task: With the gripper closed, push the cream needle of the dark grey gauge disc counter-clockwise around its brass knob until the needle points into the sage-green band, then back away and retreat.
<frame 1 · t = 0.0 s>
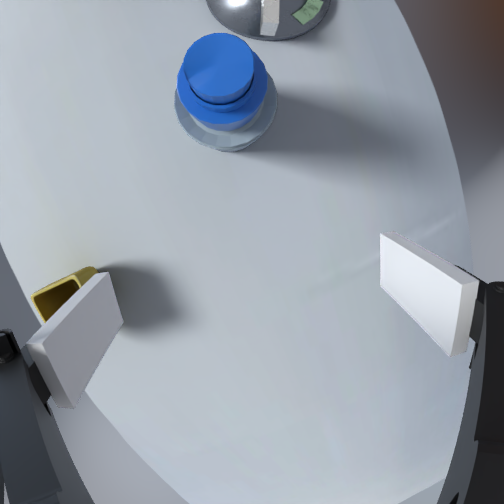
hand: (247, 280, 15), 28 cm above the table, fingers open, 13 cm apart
gold square bowl: (92, 288, 44), on the table
spray bottle: (228, 117, 39), on the table
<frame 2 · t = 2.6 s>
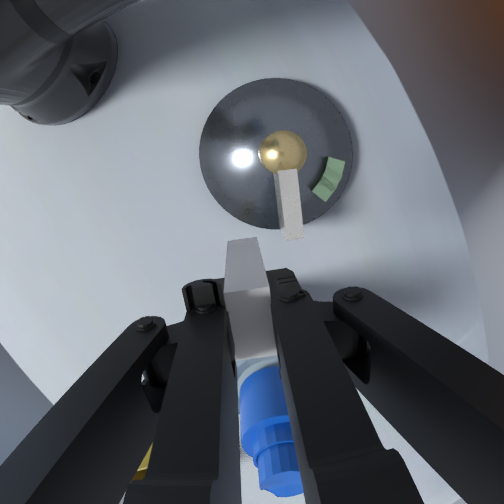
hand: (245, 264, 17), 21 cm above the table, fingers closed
gauge plate: (276, 153, 35), on the table
spray bottle: (260, 315, 41), on the table
needle dial: (285, 183, 32), point 4 cm above the table, hinge at -10.0°
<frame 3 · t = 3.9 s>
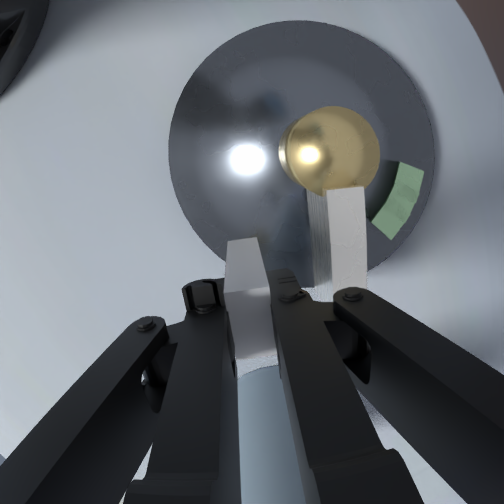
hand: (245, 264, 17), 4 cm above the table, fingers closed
gauge plate: (310, 151, 19), on the table
spray bottle: (275, 404, 25), on the table
needle dial: (333, 211, 17), point 4 cm above the table, hinge at -10.0°
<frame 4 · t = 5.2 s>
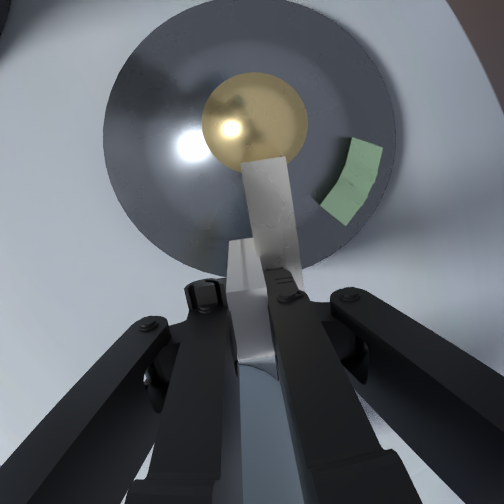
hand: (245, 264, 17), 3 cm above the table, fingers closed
gauge plate: (250, 131, 18), on the table
spray bottle: (232, 405, 24), on the table
needle dial: (264, 190, 15), point 4 cm above the table, hinge at -8.3°, touching gripper
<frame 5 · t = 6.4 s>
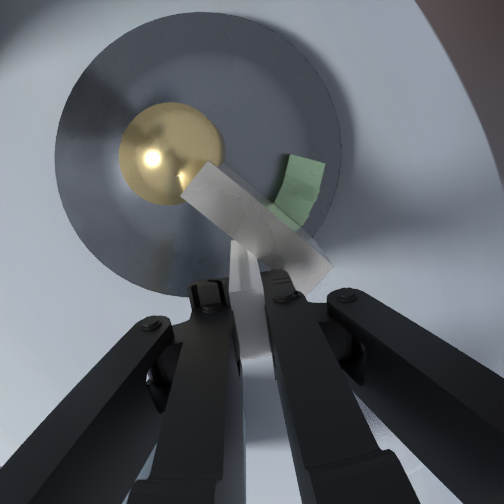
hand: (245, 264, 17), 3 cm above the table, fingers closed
gauge plate: (189, 152, 18), on the table
spray bottle: (191, 413, 24), on the table
needle dial: (226, 194, 15), point 4 cm above the table, hinge at 31.5°, touching gripper
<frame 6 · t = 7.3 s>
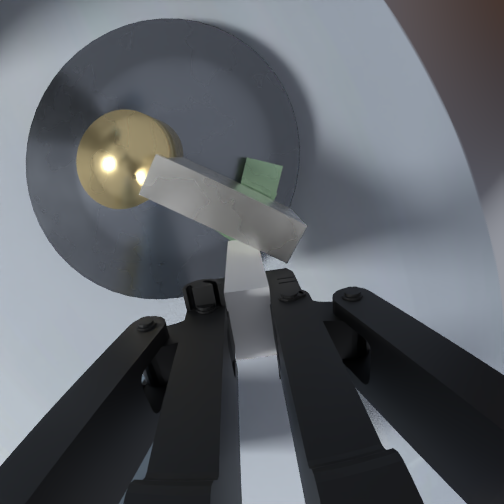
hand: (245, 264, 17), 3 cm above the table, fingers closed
gauge plate: (151, 157, 18), on the table
needle dial: (188, 183, 15), point 4 cm above the table, hinge at 46.0°
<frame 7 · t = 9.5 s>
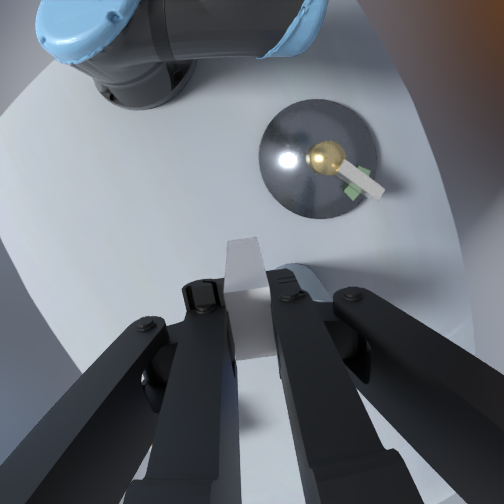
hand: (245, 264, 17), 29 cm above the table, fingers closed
gauge plate: (318, 158, 44), on the table
spray bottle: (291, 291, 49), on the table
needle dial: (344, 171, 41), point 4 cm above the table, hinge at 46.0°
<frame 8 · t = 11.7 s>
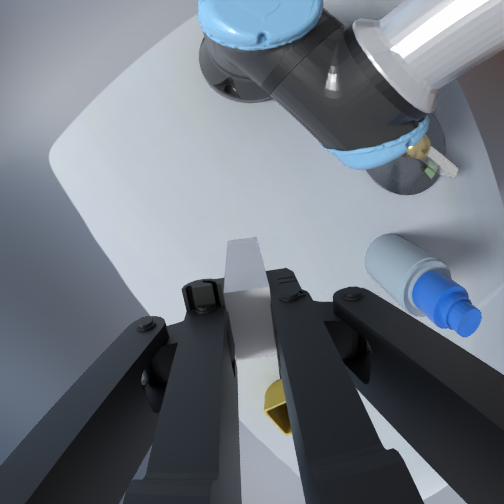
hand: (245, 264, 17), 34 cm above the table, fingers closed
gold square bowl: (289, 384, 61), on the table
gauge plate: (403, 145, 49), on the table
spray bottle: (386, 257, 55), on the table
needle dial: (428, 155, 46), point 4 cm above the table, hinge at 46.0°
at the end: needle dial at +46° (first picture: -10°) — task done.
